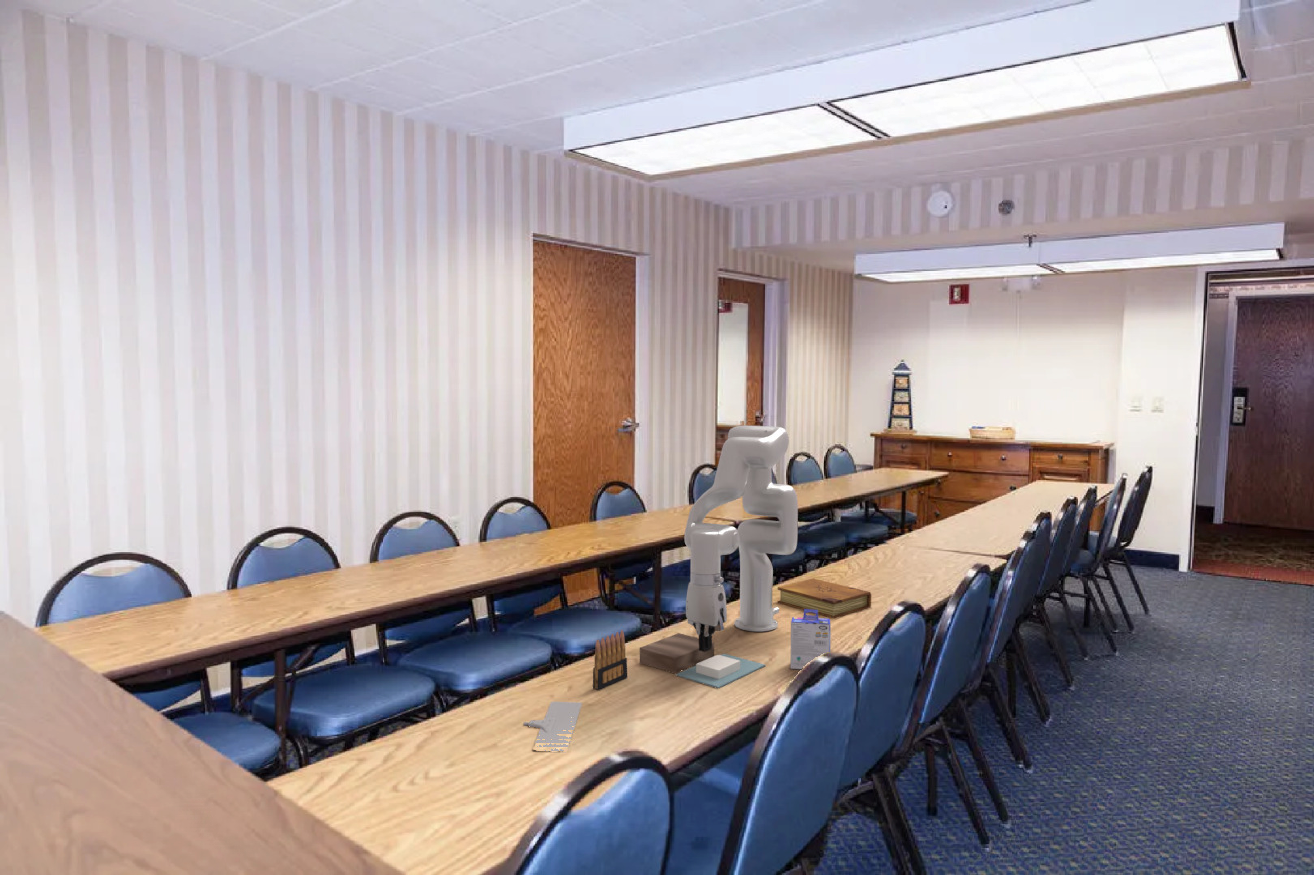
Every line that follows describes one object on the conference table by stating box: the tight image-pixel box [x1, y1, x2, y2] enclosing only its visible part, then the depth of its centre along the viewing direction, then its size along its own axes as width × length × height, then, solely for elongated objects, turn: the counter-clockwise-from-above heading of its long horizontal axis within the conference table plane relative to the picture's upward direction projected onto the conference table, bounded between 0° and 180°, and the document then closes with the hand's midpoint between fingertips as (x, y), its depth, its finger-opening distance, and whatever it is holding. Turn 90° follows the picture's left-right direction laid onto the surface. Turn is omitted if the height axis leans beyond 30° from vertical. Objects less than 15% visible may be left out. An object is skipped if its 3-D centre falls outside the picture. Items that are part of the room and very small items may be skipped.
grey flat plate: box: [523, 701, 583, 751], centre depth 178 cm, size 25×24×1 cm
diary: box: [777, 578, 872, 619], centre depth 270 cm, size 23×19×6 cm
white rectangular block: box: [695, 654, 740, 679], centre depth 209 cm, size 9×7×2 cm
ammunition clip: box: [592, 629, 628, 691], centre depth 201 cm, size 11×2×12 cm, turn 142°
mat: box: [675, 653, 766, 689], centre depth 210 cm, size 20×13×1 cm, turn 139°
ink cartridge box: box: [789, 609, 832, 670], centre depth 212 cm, size 10×6×14 cm, turn 78°
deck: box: [639, 632, 715, 674], centre depth 218 cm, size 16×12×4 cm
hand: (705, 649), depth 212 cm, fingers closed
